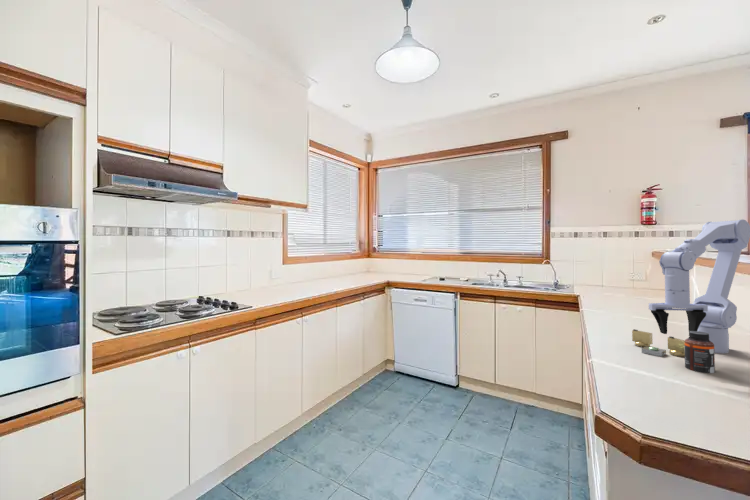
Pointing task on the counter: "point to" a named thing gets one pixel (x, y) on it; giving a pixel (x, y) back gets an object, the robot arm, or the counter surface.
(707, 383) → the counter surface
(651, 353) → the instrument base
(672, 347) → the knob
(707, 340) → the supplement bottle
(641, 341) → the knob
